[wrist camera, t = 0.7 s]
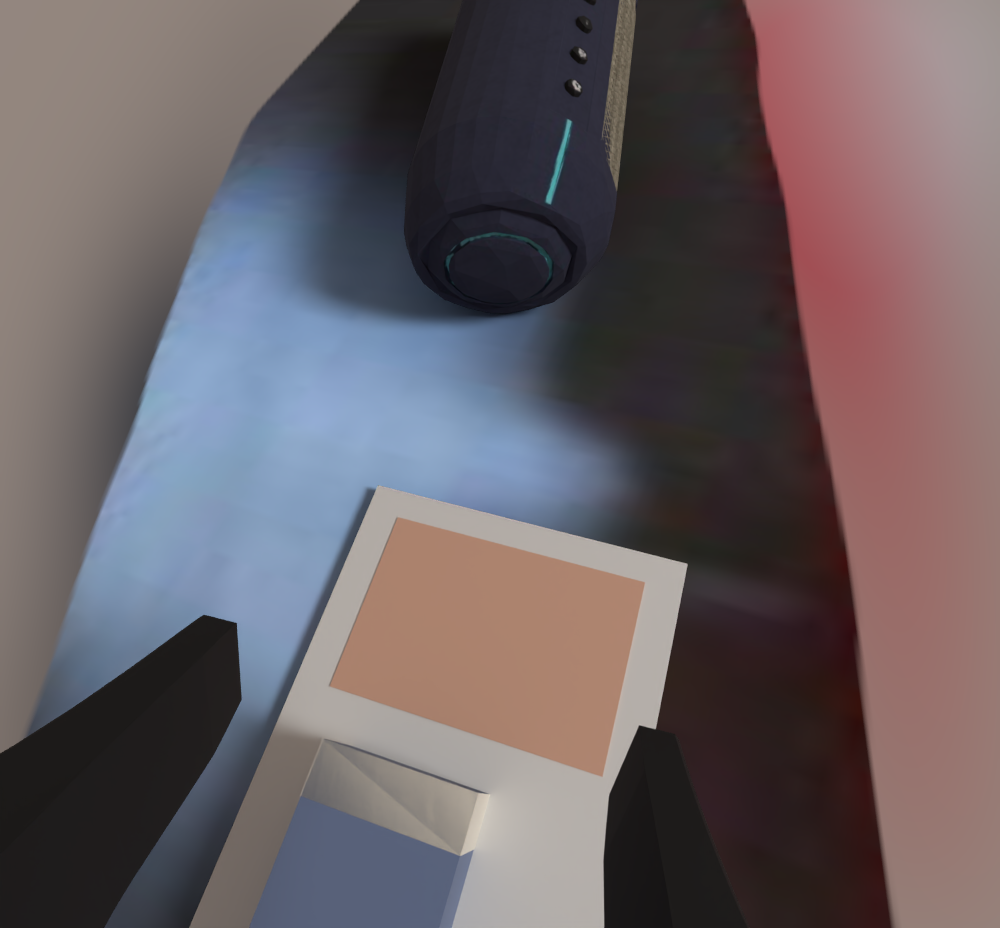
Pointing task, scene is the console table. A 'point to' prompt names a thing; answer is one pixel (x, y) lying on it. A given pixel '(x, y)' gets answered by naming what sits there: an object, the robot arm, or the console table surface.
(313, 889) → the card deck
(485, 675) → the mat
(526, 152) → the portable speaker
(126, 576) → the console table surface
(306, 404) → the console table surface
